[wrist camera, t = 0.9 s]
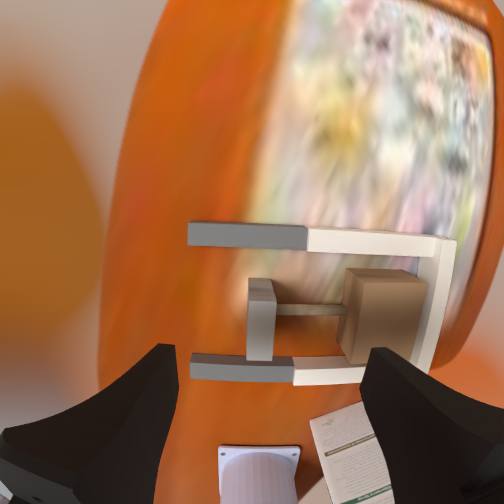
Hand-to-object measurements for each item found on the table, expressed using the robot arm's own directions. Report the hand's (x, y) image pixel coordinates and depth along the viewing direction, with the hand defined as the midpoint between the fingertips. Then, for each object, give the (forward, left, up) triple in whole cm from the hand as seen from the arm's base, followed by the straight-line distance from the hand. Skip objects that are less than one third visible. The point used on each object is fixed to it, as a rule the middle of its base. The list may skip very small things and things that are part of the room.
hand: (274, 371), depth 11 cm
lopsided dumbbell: (-2, -5, -12) cm, 14 cm away
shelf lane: (-2, -8, -12) cm, 15 cm away
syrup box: (-15, -9, -13) cm, 22 cm away
